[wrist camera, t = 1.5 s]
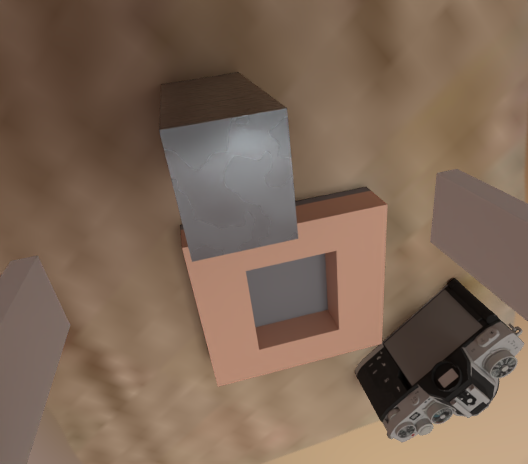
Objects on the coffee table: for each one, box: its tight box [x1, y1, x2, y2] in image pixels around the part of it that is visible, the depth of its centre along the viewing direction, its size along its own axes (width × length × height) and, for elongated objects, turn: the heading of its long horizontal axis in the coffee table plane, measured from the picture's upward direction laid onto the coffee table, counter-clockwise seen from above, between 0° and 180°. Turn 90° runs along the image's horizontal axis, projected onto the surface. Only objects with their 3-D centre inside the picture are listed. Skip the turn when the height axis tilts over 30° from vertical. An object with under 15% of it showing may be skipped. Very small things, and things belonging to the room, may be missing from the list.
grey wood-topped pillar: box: [159, 72, 298, 262], centre depth 22 cm, size 6×5×12 cm
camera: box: [355, 279, 524, 442], centre depth 38 cm, size 16×9×10 cm, turn 138°
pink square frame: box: [180, 187, 387, 387], centre depth 33 cm, size 14×15×4 cm
